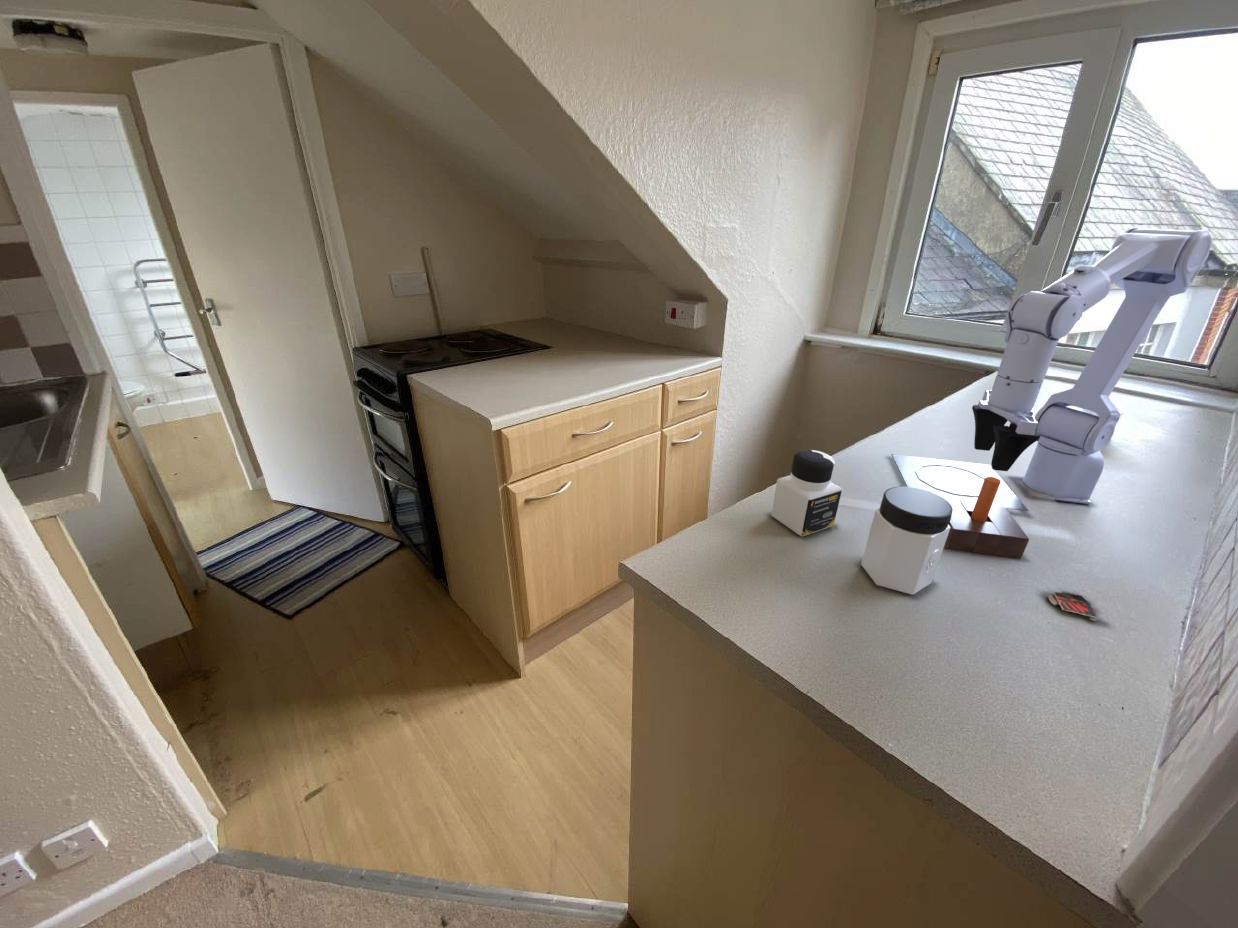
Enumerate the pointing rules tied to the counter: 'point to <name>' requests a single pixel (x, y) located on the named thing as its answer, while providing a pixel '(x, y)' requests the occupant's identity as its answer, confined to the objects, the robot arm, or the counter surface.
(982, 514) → the marker
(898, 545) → the jar
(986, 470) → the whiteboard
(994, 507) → the pen stand
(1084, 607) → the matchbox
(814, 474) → the medicine bottle
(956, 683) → the counter surface
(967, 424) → the counter surface
